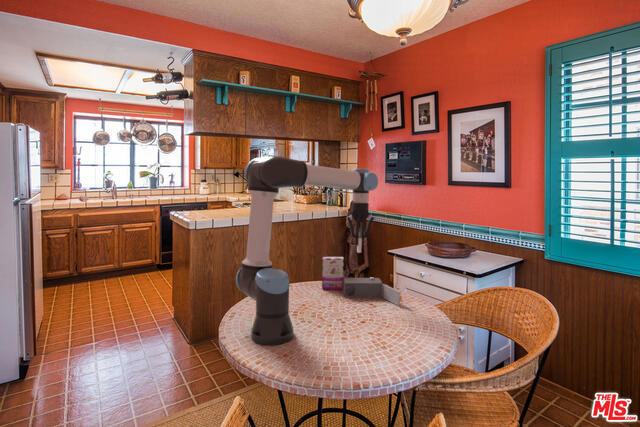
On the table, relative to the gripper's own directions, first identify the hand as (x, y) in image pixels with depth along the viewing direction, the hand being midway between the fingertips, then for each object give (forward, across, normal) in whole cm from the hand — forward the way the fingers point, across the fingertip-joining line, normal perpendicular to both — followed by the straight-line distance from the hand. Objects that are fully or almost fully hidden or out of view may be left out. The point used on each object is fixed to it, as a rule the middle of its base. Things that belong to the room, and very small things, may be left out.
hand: (359, 252), depth 168 cm
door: (+22, +15, -6) cm, 27 cm away
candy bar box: (+23, -10, +16) cm, 29 cm away
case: (+22, +3, +6) cm, 23 cm away
